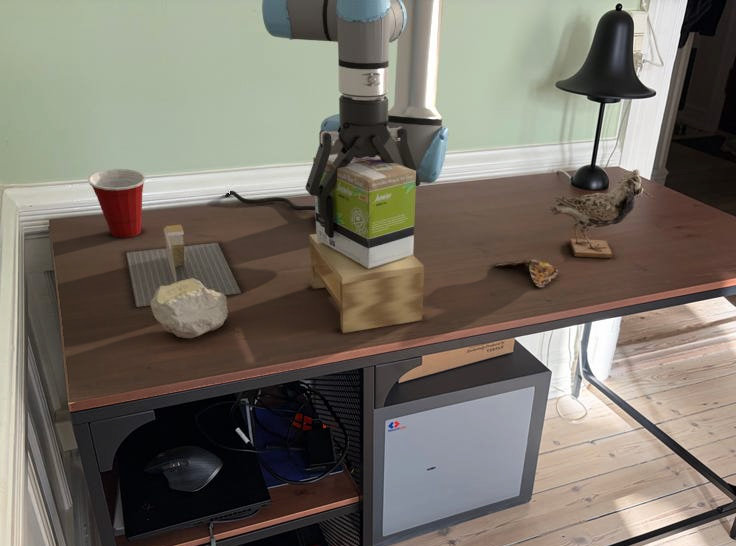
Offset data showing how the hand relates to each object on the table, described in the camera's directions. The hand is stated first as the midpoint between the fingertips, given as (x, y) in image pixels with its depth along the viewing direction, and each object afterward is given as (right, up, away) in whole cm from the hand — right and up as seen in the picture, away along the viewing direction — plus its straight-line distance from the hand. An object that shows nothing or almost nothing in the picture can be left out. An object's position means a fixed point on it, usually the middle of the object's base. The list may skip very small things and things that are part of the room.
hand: (364, 231), depth 123 cm
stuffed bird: (+45, +1, +33) cm, 56 cm away
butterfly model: (+31, -5, +21) cm, 38 cm away
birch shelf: (-1, -11, +7) cm, 13 cm away
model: (-36, -5, +15) cm, 39 cm away
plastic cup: (-52, +5, +30) cm, 61 cm away
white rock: (-27, -17, -4) cm, 32 cm away
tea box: (0, -3, +2) cm, 3 cm away
